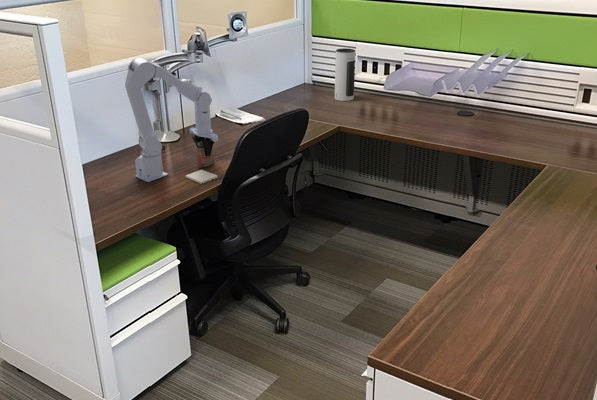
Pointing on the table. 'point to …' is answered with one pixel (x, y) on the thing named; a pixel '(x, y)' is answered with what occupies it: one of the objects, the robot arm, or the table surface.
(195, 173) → the tile
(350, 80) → the speaker
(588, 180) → the table surface
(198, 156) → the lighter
